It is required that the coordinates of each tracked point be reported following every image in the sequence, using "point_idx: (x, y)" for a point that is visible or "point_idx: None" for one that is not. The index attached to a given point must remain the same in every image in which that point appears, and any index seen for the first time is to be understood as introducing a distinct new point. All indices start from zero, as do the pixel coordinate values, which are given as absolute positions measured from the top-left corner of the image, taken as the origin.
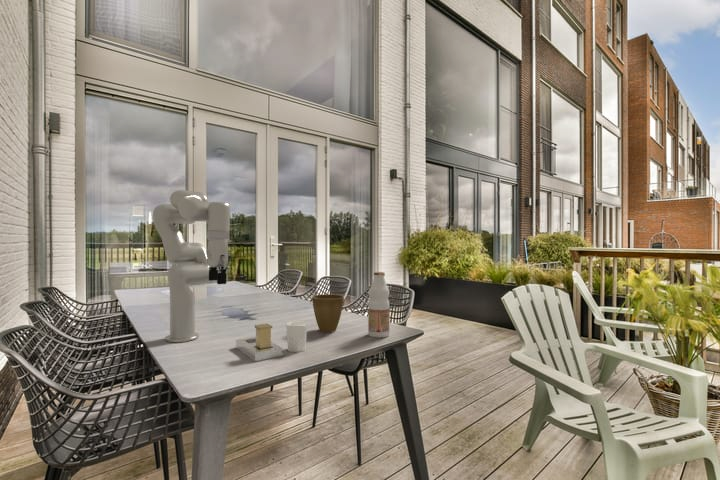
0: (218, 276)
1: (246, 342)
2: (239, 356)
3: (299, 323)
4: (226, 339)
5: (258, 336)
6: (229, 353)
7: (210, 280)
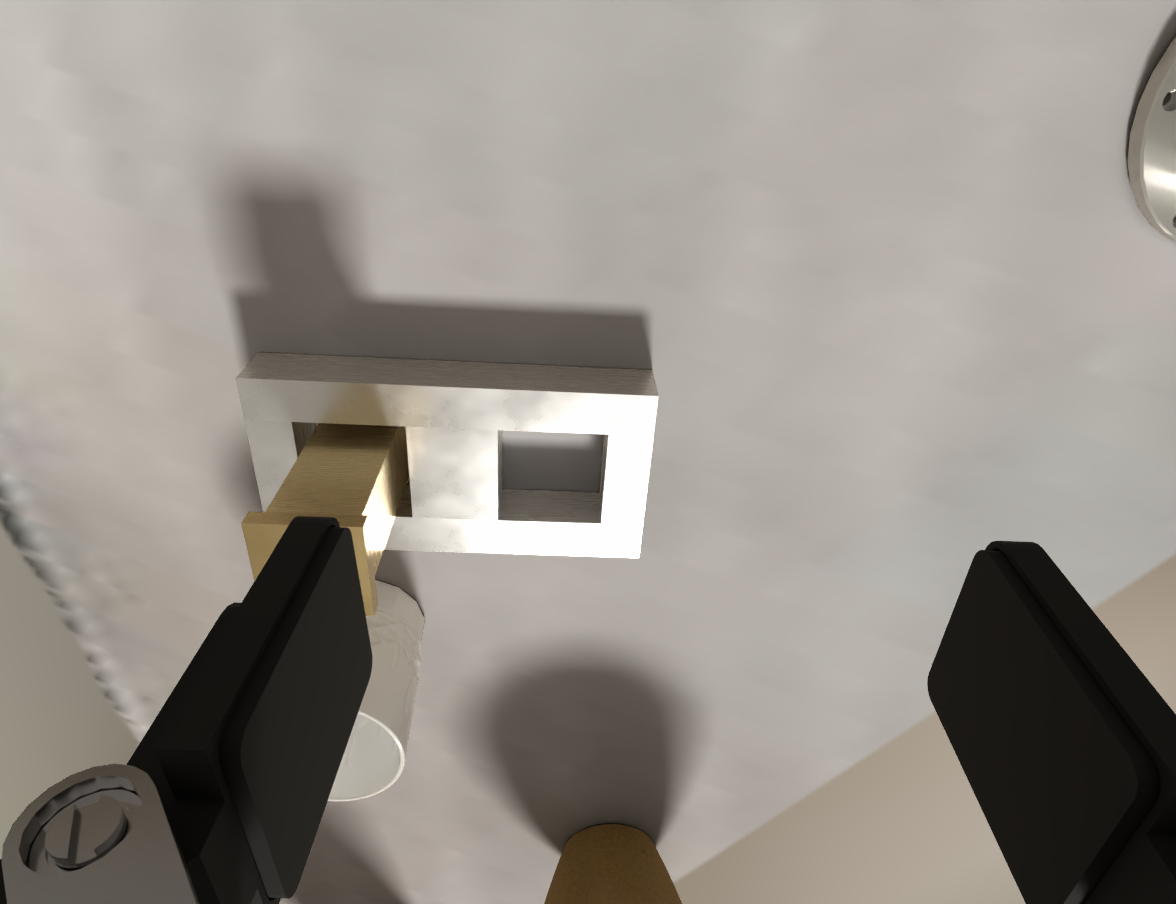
0: (212, 673)
1: (536, 427)
2: (431, 313)
3: (385, 772)
4: (909, 391)
5: (320, 484)
6: (545, 283)
7: (985, 560)
